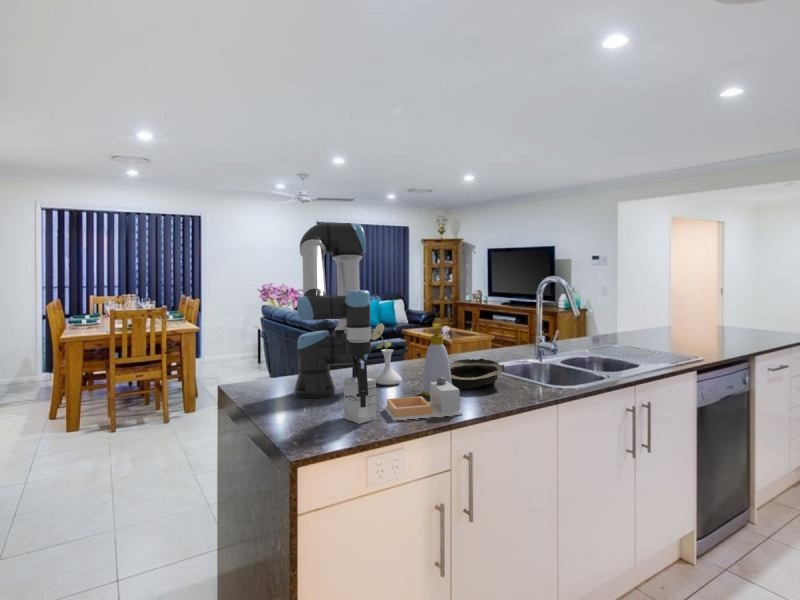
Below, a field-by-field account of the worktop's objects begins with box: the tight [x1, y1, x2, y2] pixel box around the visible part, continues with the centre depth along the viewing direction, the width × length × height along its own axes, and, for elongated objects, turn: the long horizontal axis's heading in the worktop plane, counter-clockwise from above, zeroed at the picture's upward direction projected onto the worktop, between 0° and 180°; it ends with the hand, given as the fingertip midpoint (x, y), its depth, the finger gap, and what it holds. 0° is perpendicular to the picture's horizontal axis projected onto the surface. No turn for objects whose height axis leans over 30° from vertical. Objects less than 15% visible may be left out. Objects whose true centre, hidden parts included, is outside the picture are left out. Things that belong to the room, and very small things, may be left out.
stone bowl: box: [450, 357, 505, 390], centre depth 187 cm, size 25×25×9 cm
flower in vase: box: [370, 323, 403, 386], centre depth 192 cm, size 13×11×25 cm
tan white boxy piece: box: [384, 377, 463, 422], centre depth 153 cm, size 22×14×10 cm, turn 103°
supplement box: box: [343, 377, 377, 425], centre depth 146 cm, size 7×7×13 cm
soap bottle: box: [422, 323, 453, 398], centre depth 175 cm, size 11×12×26 cm
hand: (360, 412), depth 147 cm, fingers closed on supplement box, 10 cm apart
